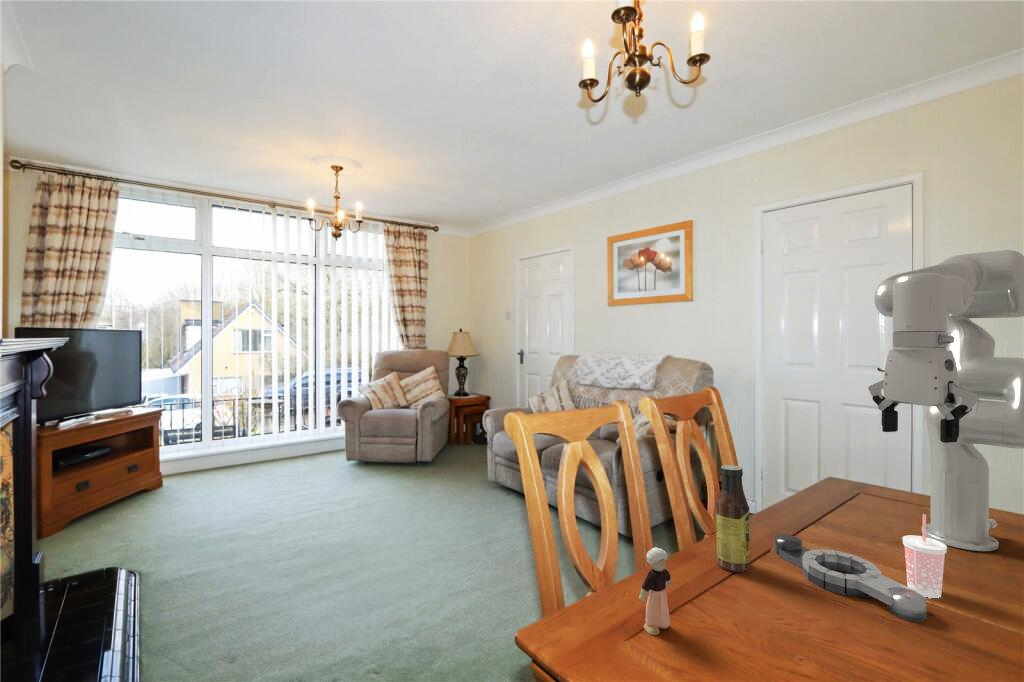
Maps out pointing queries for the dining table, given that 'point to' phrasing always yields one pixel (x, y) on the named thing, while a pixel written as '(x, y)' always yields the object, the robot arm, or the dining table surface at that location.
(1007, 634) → the dining table surface
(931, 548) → the beverage cup
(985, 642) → the dining table surface
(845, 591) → the dark grey ring piece
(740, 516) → the sauce bottle
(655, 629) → the grandmother figurine
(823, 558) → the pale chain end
